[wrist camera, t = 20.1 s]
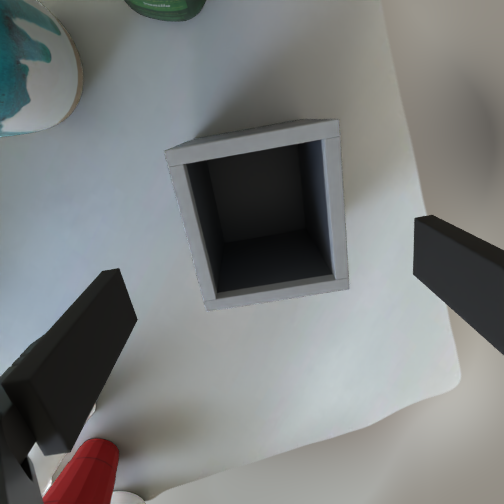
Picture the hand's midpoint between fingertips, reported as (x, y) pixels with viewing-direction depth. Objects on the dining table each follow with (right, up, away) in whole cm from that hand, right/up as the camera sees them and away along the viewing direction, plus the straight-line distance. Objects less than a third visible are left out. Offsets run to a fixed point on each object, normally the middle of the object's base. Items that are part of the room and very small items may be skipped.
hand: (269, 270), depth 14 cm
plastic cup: (-24, -29, +34) cm, 51 cm away
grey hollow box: (+1, 0, +16) cm, 16 cm away
